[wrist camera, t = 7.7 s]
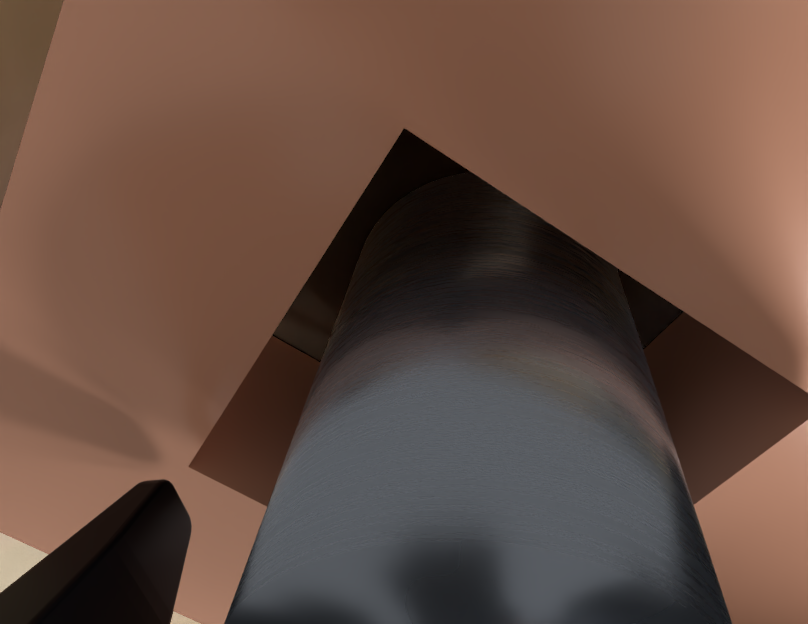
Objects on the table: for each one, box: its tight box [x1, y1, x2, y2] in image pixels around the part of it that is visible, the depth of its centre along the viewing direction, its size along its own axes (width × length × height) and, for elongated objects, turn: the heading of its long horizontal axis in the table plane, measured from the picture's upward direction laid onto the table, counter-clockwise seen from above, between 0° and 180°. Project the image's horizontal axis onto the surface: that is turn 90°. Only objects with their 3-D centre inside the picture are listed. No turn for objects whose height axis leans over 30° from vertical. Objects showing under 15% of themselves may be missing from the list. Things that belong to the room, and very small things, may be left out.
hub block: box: [0, 0, 808, 624], centre depth 11 cm, size 14×14×4 cm
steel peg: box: [224, 172, 732, 624], centre depth 10 cm, size 5×5×8 cm
